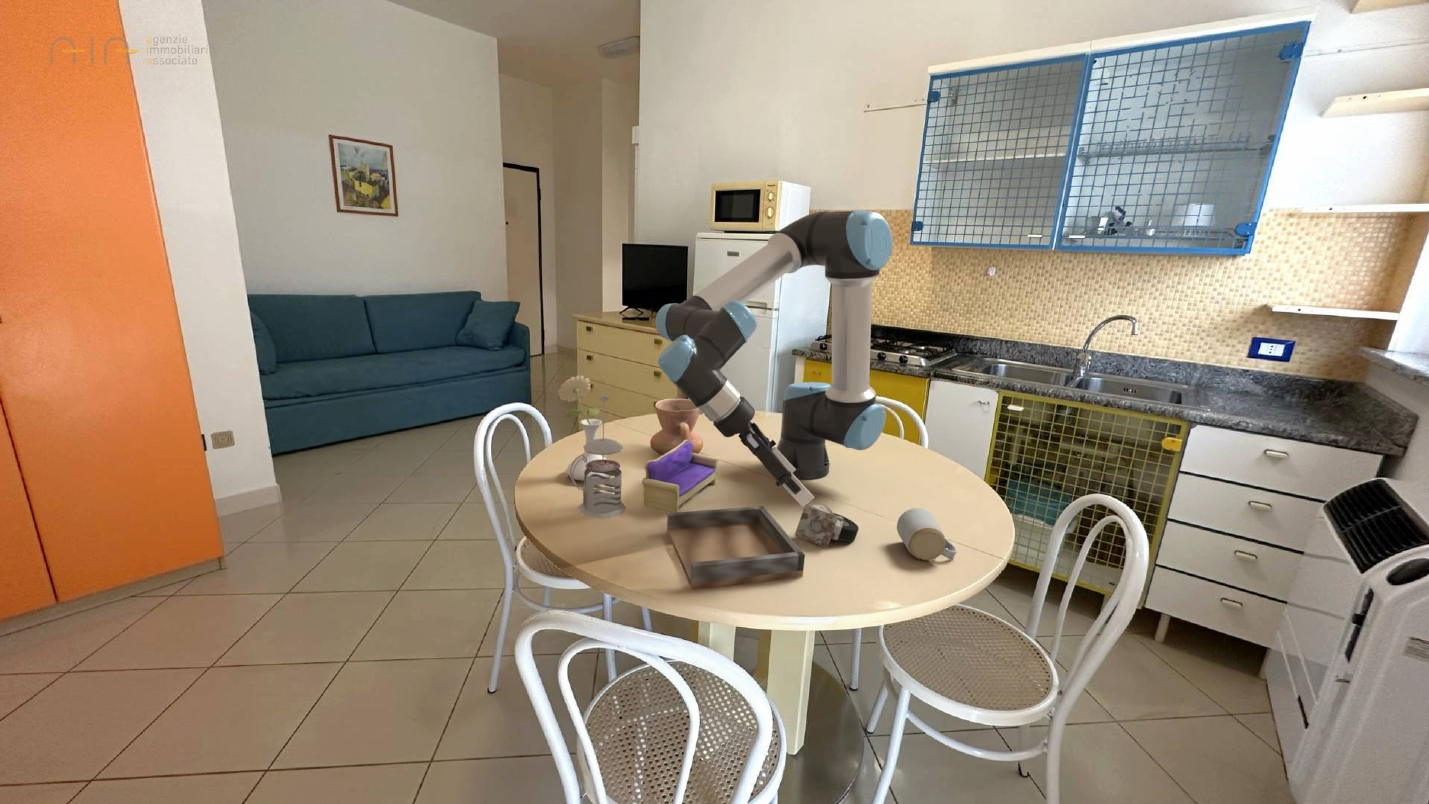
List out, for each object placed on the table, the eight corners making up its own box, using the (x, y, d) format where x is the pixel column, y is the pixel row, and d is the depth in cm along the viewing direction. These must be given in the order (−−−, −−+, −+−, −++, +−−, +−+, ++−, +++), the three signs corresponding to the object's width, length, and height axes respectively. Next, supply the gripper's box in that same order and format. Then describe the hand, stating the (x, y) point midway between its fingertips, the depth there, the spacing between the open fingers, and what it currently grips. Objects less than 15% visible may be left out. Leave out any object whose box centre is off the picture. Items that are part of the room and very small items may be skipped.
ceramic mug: (906, 561, 107) (912, 524, 105) (893, 540, 115) (899, 505, 113) (962, 566, 107) (970, 528, 105) (945, 544, 115) (952, 509, 113)
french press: (632, 513, 120) (635, 398, 114) (578, 523, 114) (578, 402, 108) (616, 495, 128) (618, 387, 122) (564, 504, 122) (564, 390, 116)
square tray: (761, 524, 118) (763, 506, 117) (802, 576, 100) (804, 555, 99) (666, 532, 113) (667, 513, 112) (691, 589, 94) (692, 566, 93)
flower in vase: (610, 466, 145) (612, 370, 139) (618, 484, 134) (620, 380, 128) (557, 470, 141) (556, 370, 134) (560, 488, 130) (559, 381, 124)
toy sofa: (675, 516, 120) (677, 471, 117) (640, 507, 124) (641, 462, 121) (718, 484, 138) (720, 444, 136) (686, 476, 142) (688, 437, 139)
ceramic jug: (646, 443, 164) (647, 395, 160) (696, 442, 167) (698, 395, 163) (654, 468, 147) (656, 415, 143) (709, 465, 150) (712, 414, 146)
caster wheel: (852, 542, 119) (850, 558, 109) (800, 521, 121) (794, 536, 112) (863, 513, 118) (862, 527, 108) (810, 493, 120) (805, 504, 111)
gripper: (705, 404, 117) (770, 475, 122) (719, 444, 93) (800, 529, 98) (732, 380, 116) (797, 452, 122) (754, 414, 92) (833, 501, 98)
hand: (798, 487), depth 110 cm, fingers open, 13 cm apart
